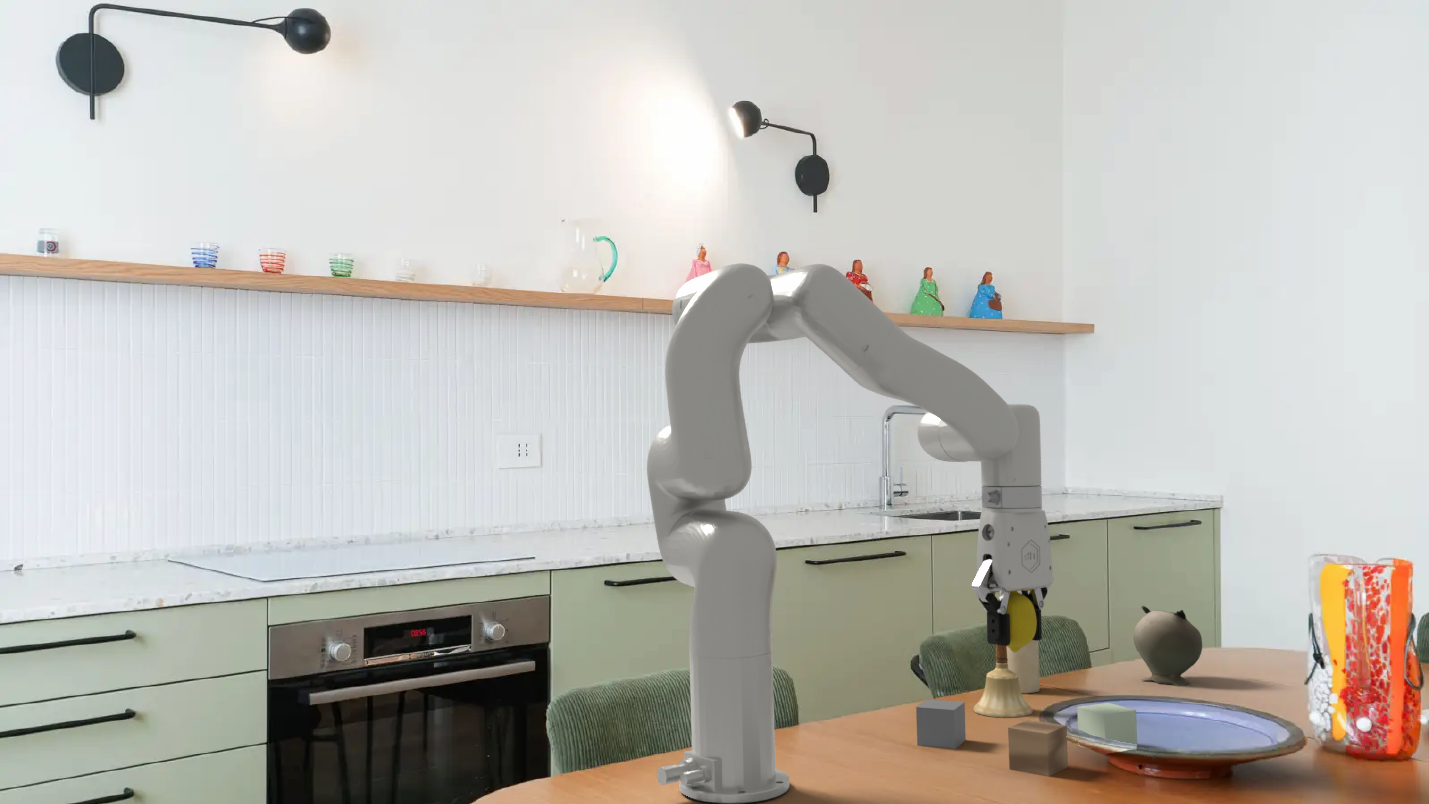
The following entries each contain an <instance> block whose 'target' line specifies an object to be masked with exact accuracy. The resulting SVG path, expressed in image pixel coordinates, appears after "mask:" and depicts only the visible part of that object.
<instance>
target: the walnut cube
mask: <svg viewBox="0 0 1429 804" xmlns="http://www.w3.org/2000/svg"><path fill="white" fill-rule="evenodd" d="M1007 728H1008V729H1007V730H1008V733H1007V734H1008V735H1007V736H1008V739H1007V740H1008V762H1009V763H1008V766H1009V768H1008V769H1009V771H1015V772H1021V773H1025V774H1032V775H1038V776H1044V777H1051V776H1052V775H1055V774H1057V773H1059V772H1061V771H1063V770H1065V769H1067V768H1069V758H1068V757H1069V756H1068V754H1069V753H1068V752H1069V751H1068V732H1067V731H1068V729H1067V725H1066V724H1058V723H1052V722H1044V721H1038V720H1030V719H1027V720H1024V721H1022V722H1019V723H1016V724H1014V725H1011V726H1009V727H1007ZM1066 736H1067V738H1066Z"/></svg>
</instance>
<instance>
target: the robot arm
mask: <svg viewBox="0 0 1429 804" xmlns="http://www.w3.org/2000/svg"><path fill="white" fill-rule="evenodd" d="M671 308H672V309H671V311H672V313H671V314H672V319H673V322H674V325H675V328H674V329H673V332H672V334H671V336H670V340H669V342H668V346H667V352H666V356H665V367H664V368H665V369H664V371H665V372H664V377H665V389H666V396H667V397H666V398H667V399H666V400H667V408H668V416H669V417H668V418H669V425H666V426H665V427H664V428H663V429H661V430H659V432H658V434H656V436H655V437H654V438H653V441H652V442H651V444H650V446H649V450H648V454H647V459H646V460H647V461H646V475H647V482H648V490H649V497H650V502H651V503H650V504H651V509H652V515H653V522H654V527H655V533H656V541H657V544H658V550H659V553H660V557H661V559H662V562H663V564H664V567H665V568H666V570H667V571H668V573H669V574H670V575H671V576H672V577H673V579H676V580H677V581H678V582H680V583H682V584H683V585H686V586H689V587H691V588H694V589H693V592H694V593H693V596H692V603H691V607H690V614H689V624H688V650H689V651H688V653H689V676H690V677H689V682H690V683H689V684H690V685H689V687H690V721H691V723H690V724H691V725H690V726H691V749H690V750H686V751H683V754H684V755H683V756H684V757H683V758H684V759H682V760H680V761H679V763H678V764H670V765H666V766H661V767H659V768H657V771H656V778H657V782H658V783H659V785H661V786H664V785H671V784H674V783H677V782H679V783H678V784H679V786H678V789H679V791H680V793H682V795H684V796H685V795H686V797H687V796H688V798H689V797H690V799H692V800H696V801H700V802H706V803H712V804H714V803H715V804H747V803H757V802H761V801H762V802H763V801H767V800H770V799H771V800H772V799H774V798H777V797H779V796H781V795H784V793H786V792H787V791H788V790H789V788H790V776H789V775H788V774H787V773H786V772H785V771H784V770H780V769H779V768H777V767H776V743H775V742H776V740H775V739H776V738H775V709H774V708H775V707H774V706H775V705H774V697H775V696H774V672H773V671H774V669H773V665H774V664H773V662H774V661H773V659H774V658H773V640H772V639H773V638H772V635H773V632H772V631H773V630H772V623H773V622H772V619H773V618H772V614H773V613H772V612H773V610H772V609H773V600H774V599H773V598H774V592H775V591H774V590H775V583H776V576H777V566H778V559H777V558H778V555H777V549H776V545H775V543H774V539H773V537H772V535H771V533H770V532H769V530H768V529H767V528H766V526H765V525H764V523H761V522H760V521H759V520H758V519H757V518H754V517H753V516H751V515H749V514H747V513H743V512H740V511H739V512H738V511H734V510H727V505H726V500H727V499H730V498H733V497H735V496H736V495H738V494H740V493H741V492H742V491H743V490H745V488H746V486H747V484H748V483H749V481H750V478H751V475H752V468H753V466H752V456H751V454H752V453H751V447H750V442H749V438H748V432H747V425H746V420H745V419H746V418H745V414H744V407H743V401H742V391H741V384H740V369H741V368H740V366H741V361H742V357H743V354H744V351H745V348H746V347H747V346H748V344H759V343H761V344H762V343H771V342H780V341H788V340H789V341H790V340H795V339H800V338H806V339H808V340H809V341H810V342H812V343H813V344H814V346H816V347H817V348H818V349H819V350H820V351H822V352H823V353H824V354H825V355H826V356H827V358H830V360H832V361H833V362H834V363H835V364H836V365H837V366H839V367H840V368H841V369H842V371H844V373H846V375H848V376H849V377H851V379H853V381H855V383H857V385H859V386H860V387H862V388H864V389H866V390H868V391H871V392H873V393H875V394H878V395H881V396H884V397H887V398H890V399H895V400H899V401H902V402H906V403H909V404H911V405H913V406H916V407H918V408H920V409H923V410H924V411H925V413H924V414H923V416H922V417H921V419H920V420H919V423H918V426H917V432H916V433H917V439H918V443H919V444H920V447H921V448H922V450H923V451H924V452H925V453H926V454H928V455H929V456H930V457H932V458H933V459H935V460H939V461H942V462H946V463H947V462H949V463H950V462H951V463H954V462H955V463H965V462H980V475H981V478H980V479H981V481H980V482H981V512H980V517H979V522H978V523H979V526H978V531H977V532H978V534H977V535H978V536H977V546H976V547H977V550H976V570H977V571H976V572H977V573H976V576H975V578H974V580H973V582H972V583H971V590H972V591H973V593H974V594H975V595H976V597H977V598H978V600H979V601H980V604H982V606H983V607H982V608H983V612H984V613H986V632H987V633H986V637H987V639H986V640H987V641H986V642H987V643H988V644H990V645H995V646H996V645H1002V646H1008V645H1010V614H1007V613H1005V612H1006V609H1007V604H1008V599H1009V594H1010V591H1017V592H1018V593H1020V594H1022V595H1024V596H1026V597H1027V598H1028V599H1029V600H1030V601H1031V603H1032V604H1033V606H1034V609H1035V613H1036V619H1037V626H1036V632H1035V635H1034V637H1033V639H1032V640H1036V641H1038V642H1039V641H1041V640H1042V638H1043V637H1042V631H1043V629H1042V609H1043V608H1044V606H1045V602H1044V600H1045V599H1046V596H1047V594H1048V590H1049V589H1050V588H1051V586H1052V584H1053V582H1054V576H1053V572H1054V571H1053V556H1052V555H1053V554H1052V545H1051V536H1050V529H1049V524H1048V520H1047V519H1048V518H1047V515H1046V511H1045V510H1044V509H1043V508H1042V507H1043V500H1042V499H1043V497H1042V496H1043V494H1042V492H1043V490H1042V487H1043V486H1042V455H1041V453H1042V450H1041V447H1042V445H1041V417H1040V412H1039V411H1038V408H1036V407H1035V406H1033V405H1030V404H1023V403H1022V404H1018V403H1017V404H1015V403H1013V404H1008V403H1007V402H1006V401H1005V400H1004V399H1003V397H1002V396H1001V395H1000V394H998V392H996V390H994V388H993V387H991V386H990V385H989V383H987V382H986V381H985V380H984V379H983V378H981V376H979V375H978V374H976V373H975V372H974V371H973V370H971V369H969V368H968V367H966V365H964V364H962V363H961V362H959V361H957V360H955V359H953V358H951V357H949V356H948V355H946V354H944V353H942V352H940V351H938V350H936V349H935V348H933V347H931V346H930V345H927V344H925V343H924V342H921V341H919V340H917V339H915V338H914V337H912V336H910V335H909V334H908V333H906V332H905V331H904V330H902V328H901V327H899V325H897V324H896V323H895V322H894V321H893V320H892V319H891V318H890V317H888V316H887V314H886V313H884V311H882V310H881V309H880V308H879V307H878V306H877V305H876V304H875V303H874V302H873V301H872V300H871V299H870V298H869V297H868V296H867V295H865V294H864V292H862V291H861V289H859V288H858V287H857V286H856V285H855V284H854V283H853V282H852V281H851V280H849V279H848V278H847V277H846V275H844V274H843V273H842V272H840V270H838V269H836V268H835V267H832V266H830V265H827V264H825V263H824V264H823V263H816V264H815V263H813V264H808V265H804V266H801V267H798V268H794V269H791V270H789V271H786V272H782V273H777V274H767V273H766V272H765V271H764V270H763V269H761V267H758V266H756V265H754V264H749V263H742V262H741V263H740V262H739V263H733V264H728V265H724V266H721V267H718V268H716V269H713V270H711V271H709V272H707V273H705V274H701V275H698V276H696V277H694V278H692V279H690V280H688V281H687V282H685V283H684V284H683V285H682V286H681V287H680V288H679V289H678V291H677V293H676V294H675V296H674V298H673V301H672V307H671ZM997 594H999V597H998V598H997V597H996V595H997ZM998 599H999V601H998Z"/></svg>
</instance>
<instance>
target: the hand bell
mask: <svg viewBox="0 0 1429 804" xmlns="http://www.w3.org/2000/svg"><path fill="white" fill-rule="evenodd" d="M995 657H996V658H995V668H994V669H993V670H991V671H988V672H987V673H986V676H985V677H986V678H985V686H984V690H983V693H982V695H981V698H980V699H979V700H978V702H977V703H976V704H975V705H974V707H973V711H974V712H975V713H976V714H979V715H981V716H982V715H983V716H987V717H992V718H1003V719H1005V718H1022V717H1026V716H1030V715H1032V714H1033V712H1034V710H1033V709H1032V707H1031V706H1030V705H1029V704H1028V702H1026V701H1027V700H1025V698H1024V696H1023V693H1021V691H1020V686H1019V681H1018V675H1017V674H1016V673H1014V672H1012V671H1011V670H1009V668H1008V663H1007V662H1008V659H1007V646H1002V645H996V644H995Z"/></svg>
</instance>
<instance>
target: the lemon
mask: <svg viewBox="0 0 1429 804" xmlns="http://www.w3.org/2000/svg"><path fill="white" fill-rule="evenodd" d="M997 599H998V601H999V598H997ZM1005 613H1007V614H1010V645H1008V646H1007V647H1009V648H1010V650H1011V651H1012V652H1018V651H1019V650H1020V649H1021V648H1022V647H1023V646H1026V645H1027V644H1029V643H1030V642H1031V641H1032V639H1033V637H1034V635H1035V632H1036V626H1037V619H1036V613H1035V609H1034V606H1033V604H1032V603H1031V601H1030V600H1029V599H1028V598H1027V597H1026V596H1024V595H1022V594H1020V593H1019V592H1018V591H1010V594H1009V599H1008V604H1007V609H1006V612H1005Z"/></svg>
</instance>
